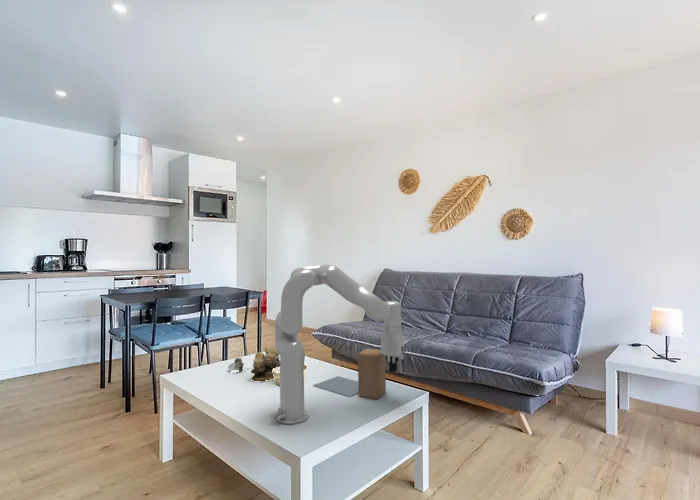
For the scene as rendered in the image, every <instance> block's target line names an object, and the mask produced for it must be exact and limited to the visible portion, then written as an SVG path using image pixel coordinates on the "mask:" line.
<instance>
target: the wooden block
mask: <svg viewBox="0 0 700 500" xmlns="http://www.w3.org/2000/svg"><path fill="white" fill-rule="evenodd" d="M357 363H358V364H357V376H358V378H357V381H358V392H359V393H358V396H359V397H362V398H368V399H374V400H378V399H380V398H381V397H382V396H383V395H385V393H386V389H387V387H386V385H387V384H386V379H387V376H386V357H384V356H383V355H382V354H381V349H377V348H375V349H374V348H365V349H363V350H362V351H360V352H358V353H357Z"/></svg>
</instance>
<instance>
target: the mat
mask: <svg viewBox="0 0 700 500" xmlns="http://www.w3.org/2000/svg"><path fill="white" fill-rule="evenodd" d="M312 387H316V388H318V389H320V390H321V389H323V390H326V391H327V392H330V393H334V394H338V395H341V396H344V397H347V398H351V397H354V396H356V395H359V392H358V380H354V379H350V378H346V377H344V376H343V377H342V376H339V375H337V376H335V377H332V378H329V379H326V380H323V381H321V382H318V383H315V384H313V385H312Z"/></svg>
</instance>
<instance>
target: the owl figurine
mask: <svg viewBox="0 0 700 500" xmlns="http://www.w3.org/2000/svg"><path fill="white" fill-rule="evenodd" d="M252 366H253V368H252V369H251V370H250V373H251V374H254V375H253V376H252V377H251V378H252V380H254V381H265V380H270V379H273V378H274V376H273V373H272V369H273V368H276V367H278V368H280V355H279V354H278V352H277V350H276V347H272V345H271V346H270V345H266V346H265V347H264V353H263V352H256V353H255V355H254V359H253V363H252ZM276 369H277V368H276Z"/></svg>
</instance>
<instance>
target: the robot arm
mask: <svg viewBox="0 0 700 500" xmlns="http://www.w3.org/2000/svg"><path fill="white" fill-rule="evenodd" d="M320 285H326V286H327V287H329V288H330V289H332V290H333V291H335V293H337V294H338V295H340V296H341V297H342V298H343V299H344V300H346V301H348V302H350V303H351V304H353V305H356V306H358V307H360V308H361V309H363V310H364V311H365V315H366V316H367V317H369V318H370V319H373V320H376V321H379V322H383V325H382V327H381V328H382V329H383V331H382V332H381V333H382V334H381V339H380V350H381V354H382V355H383V356H384V357H385V359H387V362H388V369H389V372H390V373H395V372H397V369H398V362H399V361H401V360H404V359H405V357H404V355H405V339H404V334H403V333H402V303H400V301H397V300H389V301H388V300H387V301H383V300H382V299H381V298H380V297H378V296H377V295H375V294H374V293H373V292H371V291H369V290H368V289H367V288H366V287H364V286H363V285H361V284H359V283H358V282H357V281H356V280H355V279H353V278H352V277H350V276H349V275H348V274H347V273H345V272H344V271H343V270H342V269H341V268H339V267H338V266H336V265H333V264H321V265H314V266H313V265H312V266H301V267H297V268H295V269H293V270H292V271H291V273H290V277H289V279H288V281H286V282H285V285H284V287H283V289H282V293H281V298H280V300H281V301H280V311H279V312H278V313H277V315H276V317H275V321H274V328H275V329H274V332H275V333H274V335H275V336H274V337H275V338H274V341H275V342H274V343H275V348H276V350H277V352H278V354H279V357H280V358H279V360H280V366H279V371H280V378H279V400H280V401H279V406H280V407H278V408H277V411H276V412H274V413H271V414H270V416H269V417H270V420H274V419H276V420H277V422H279V423H281V424H285V425H293V424H295V425H296V424H300V423H303V422H305V421H306V420H307V419H309V412H308V411H306V410H305V358H306V351H305V350H306V349H305V347H304V344H303V343H302V341H300V340H299V338H298V334H299V333H300V332H301V331H302V328H303V323H304V322H303V301H304V295H305V294H306V293H307V291H308V290H309V289H311V288H312V287H313V286H320Z"/></svg>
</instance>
